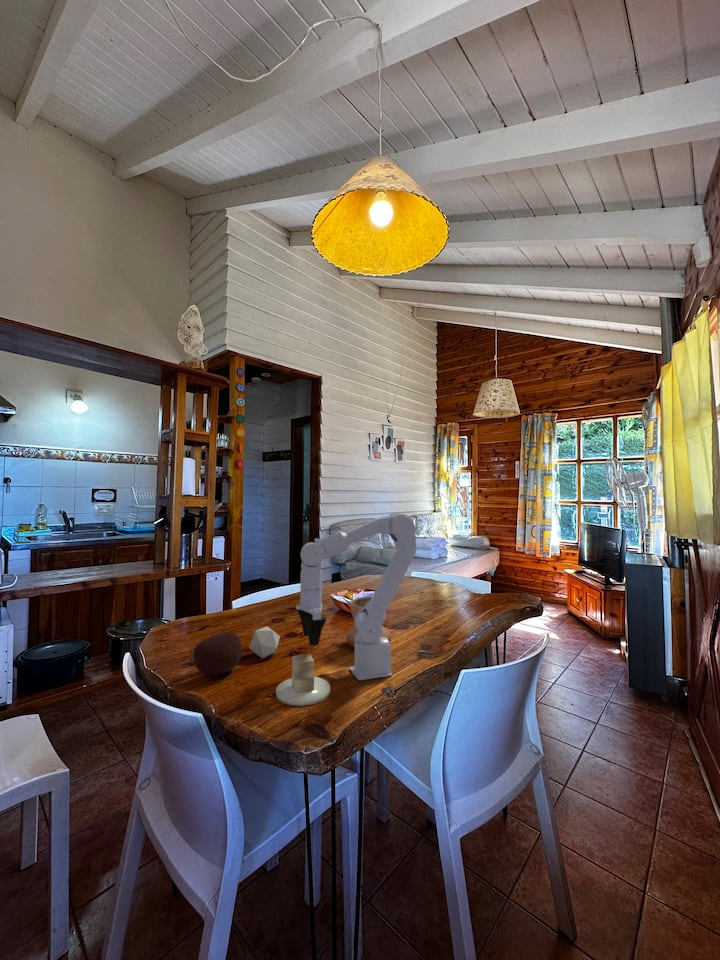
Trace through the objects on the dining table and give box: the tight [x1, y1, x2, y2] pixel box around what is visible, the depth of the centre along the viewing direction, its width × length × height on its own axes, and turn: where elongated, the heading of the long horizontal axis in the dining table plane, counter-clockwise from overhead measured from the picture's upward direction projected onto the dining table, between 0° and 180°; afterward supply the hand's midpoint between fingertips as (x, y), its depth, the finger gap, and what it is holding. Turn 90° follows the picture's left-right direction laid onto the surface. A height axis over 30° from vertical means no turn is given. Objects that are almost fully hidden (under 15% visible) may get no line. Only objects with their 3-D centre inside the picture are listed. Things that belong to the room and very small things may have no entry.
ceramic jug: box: [345, 596, 392, 649], centre depth 128 cm, size 18×14×14 cm
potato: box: [192, 631, 243, 676], centre depth 108 cm, size 11×13×10 cm
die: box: [248, 626, 281, 660], centre depth 120 cm, size 8×9×10 cm
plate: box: [275, 676, 331, 707], centre depth 97 cm, size 13×13×1 cm
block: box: [291, 653, 315, 694], centre depth 97 cm, size 4×4×7 cm
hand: (310, 640), depth 106 cm, fingers open, 7 cm apart
